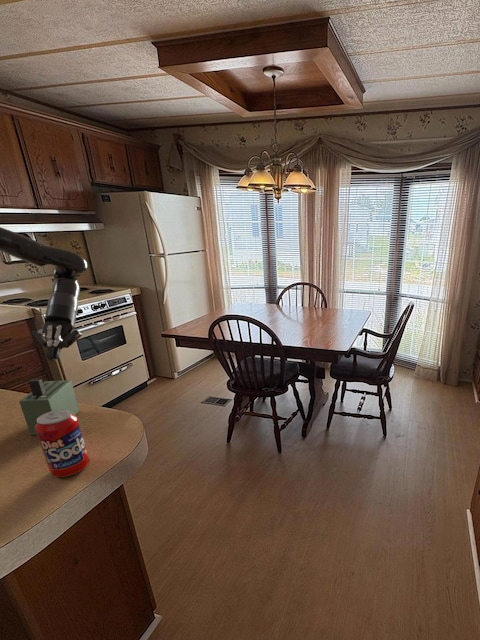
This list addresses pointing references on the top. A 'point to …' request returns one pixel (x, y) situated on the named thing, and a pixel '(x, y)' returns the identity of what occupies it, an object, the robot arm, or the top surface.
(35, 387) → the slider
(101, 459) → the top surface
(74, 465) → the soda can
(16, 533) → the top surface
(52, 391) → the toaster
